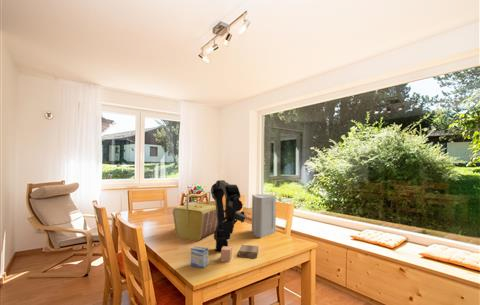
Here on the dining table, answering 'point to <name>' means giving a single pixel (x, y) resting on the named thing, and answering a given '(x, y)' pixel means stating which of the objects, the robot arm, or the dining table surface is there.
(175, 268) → the dining table surface
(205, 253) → the medicine box
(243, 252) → the walnut base
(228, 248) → the terracotta block
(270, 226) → the grey upright carton
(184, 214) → the picnic basket
